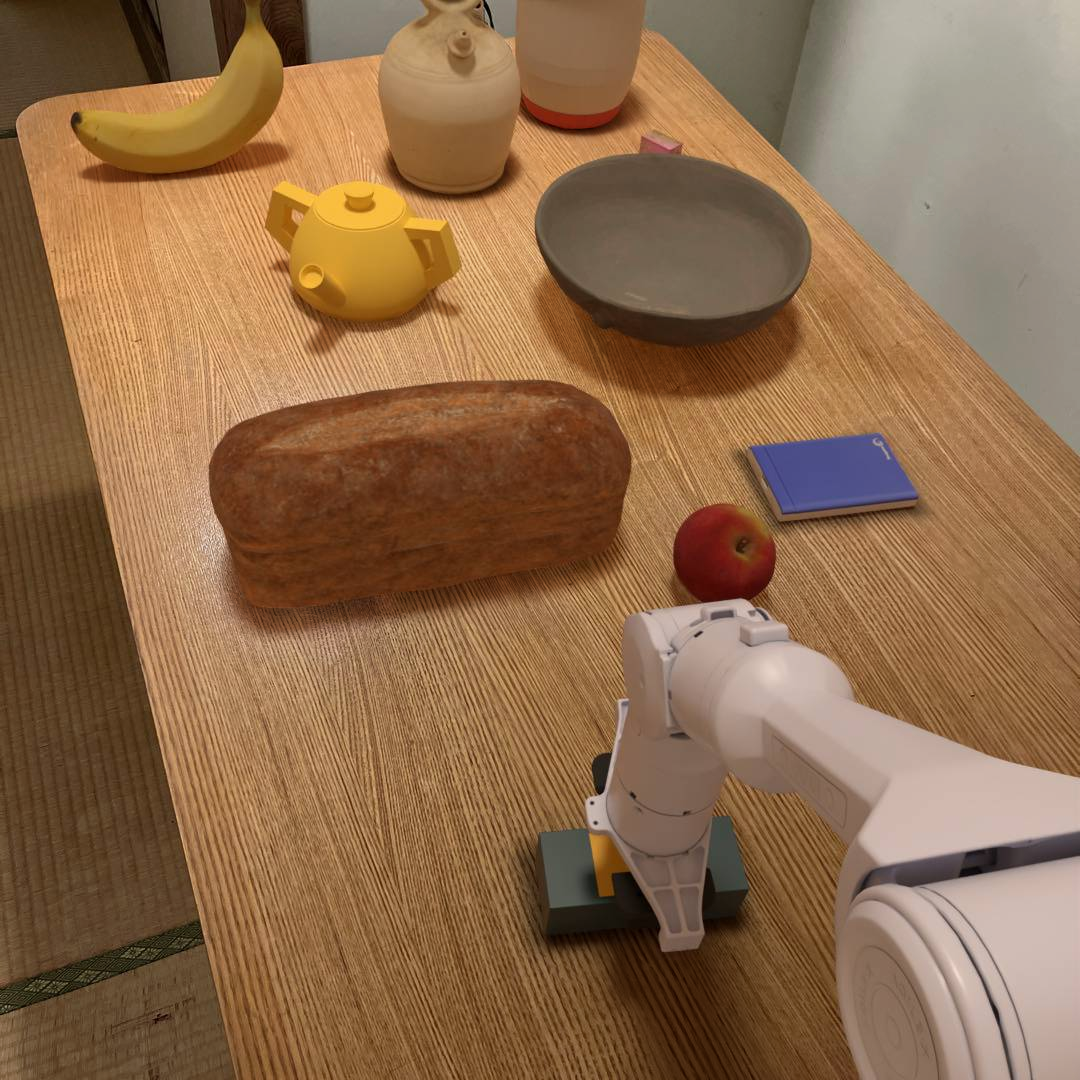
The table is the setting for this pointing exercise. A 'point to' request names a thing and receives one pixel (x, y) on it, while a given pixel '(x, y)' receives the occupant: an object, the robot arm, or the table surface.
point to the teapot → (360, 250)
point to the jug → (449, 99)
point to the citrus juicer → (577, 58)
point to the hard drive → (831, 477)
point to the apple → (724, 553)
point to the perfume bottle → (659, 143)
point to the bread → (417, 489)
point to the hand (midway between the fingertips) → (635, 879)
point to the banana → (195, 114)
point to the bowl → (672, 247)
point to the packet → (589, 860)
